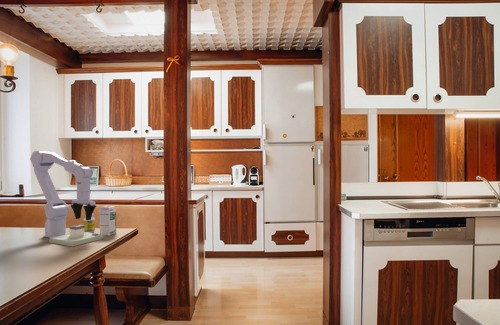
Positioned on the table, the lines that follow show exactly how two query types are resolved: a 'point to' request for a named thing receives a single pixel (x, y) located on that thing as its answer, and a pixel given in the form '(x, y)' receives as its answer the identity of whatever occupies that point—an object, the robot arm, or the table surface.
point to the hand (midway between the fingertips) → (83, 219)
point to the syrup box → (108, 220)
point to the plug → (77, 231)
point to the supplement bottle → (89, 224)
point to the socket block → (76, 239)
